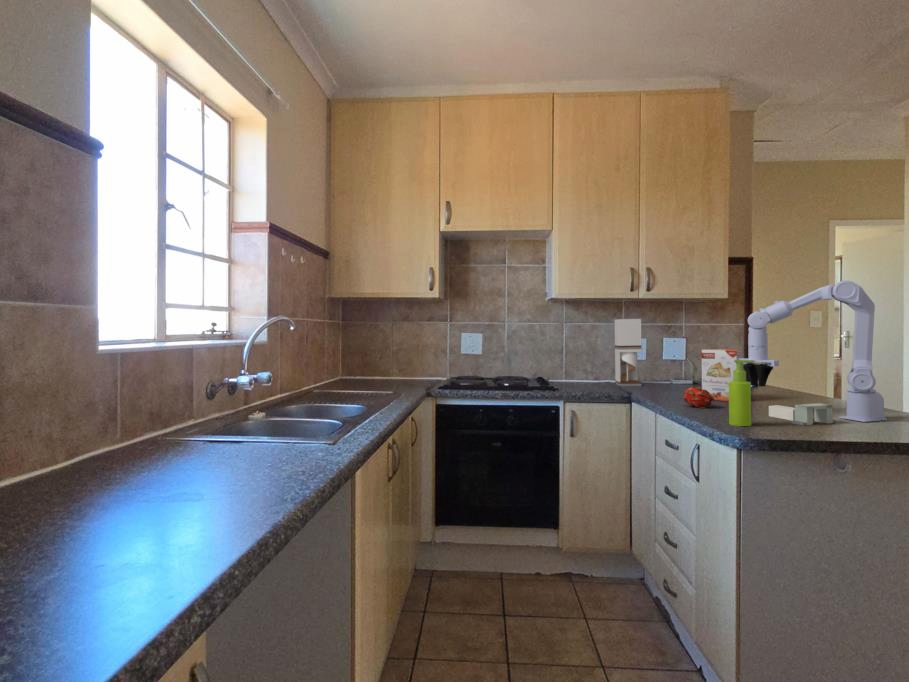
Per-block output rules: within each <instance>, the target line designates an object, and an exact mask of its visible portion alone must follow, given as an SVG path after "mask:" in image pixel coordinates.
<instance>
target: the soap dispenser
mask: <svg viewBox="0 0 909 682" xmlns="http://www.w3.org/2000/svg"><path fill="white" fill-rule="evenodd" d="M734 362H736V370H735V371H733V381H731V382H729V401H728V425H730V426H733V425H734V427H740V426H748V427H751V426H752V385H751V383H750V381H747V372H746V370H745V369H744V364H743V362H750V363H754V362H755V361H751V360H734ZM755 363H756V362H755Z"/></svg>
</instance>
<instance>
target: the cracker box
mask: <svg viewBox="0 0 909 682" xmlns="http://www.w3.org/2000/svg"><path fill="white" fill-rule="evenodd" d="M739 358H744V357H743V349H728V348H727V349H725V348H722V349H721V348H714V349H713V348H706V349H705V348H704V349H701V388H702V390H707V391H708V392H709V393H710V394H711V395H712V396H713V397H714V401H720V402H721V401H723V402H729V382H731V381H733V371H735V370H736V362H734V360H739Z"/></svg>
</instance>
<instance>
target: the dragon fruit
mask: <svg viewBox="0 0 909 682" xmlns="http://www.w3.org/2000/svg"><path fill="white" fill-rule="evenodd" d="M682 399H683V401H684V403H688V405H689V407H696V408H700V409H706V408H707V407H706V406H711V405H712V403H713V402H714V401H715V400H714V397H713V396H712V395H711V394H710V393H709V392H708V391H707V390H702V386H697V387H696V386H695V385H694V386H693V385H692V386H691V387H688V388H687V389H686V390H685V391H684V392H683V396H682ZM712 401H713V402H712Z"/></svg>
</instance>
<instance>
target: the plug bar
mask: <svg viewBox="0 0 909 682" xmlns="http://www.w3.org/2000/svg"><path fill="white" fill-rule="evenodd" d="M768 417H771V418H777V419H782V420H787V421H793V420H795V407H793V406H792V407H791V406H786V405H780V404H778V405H777V404H776V405H768Z"/></svg>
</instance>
